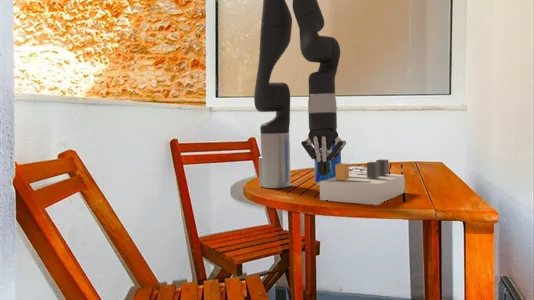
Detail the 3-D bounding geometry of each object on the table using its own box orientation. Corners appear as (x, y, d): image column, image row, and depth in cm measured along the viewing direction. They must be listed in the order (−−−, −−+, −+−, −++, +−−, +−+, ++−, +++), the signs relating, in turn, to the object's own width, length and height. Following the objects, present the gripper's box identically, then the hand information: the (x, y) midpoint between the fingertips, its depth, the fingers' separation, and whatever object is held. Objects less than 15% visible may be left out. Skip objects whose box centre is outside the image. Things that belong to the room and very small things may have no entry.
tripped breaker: (335, 179, 120) (335, 164, 120) (340, 178, 122) (340, 163, 122) (344, 180, 118) (343, 164, 118) (348, 178, 121) (348, 163, 121)
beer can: (340, 187, 141) (339, 135, 140) (313, 187, 143) (312, 136, 142) (342, 183, 149) (341, 134, 148) (316, 183, 151) (315, 135, 150)
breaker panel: (320, 199, 121) (319, 180, 120) (351, 188, 137) (351, 172, 137) (377, 205, 112) (377, 184, 111) (404, 192, 128) (404, 174, 127)
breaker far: (376, 174, 127) (376, 160, 127) (380, 173, 129) (380, 159, 129) (384, 175, 126) (384, 160, 125) (388, 173, 128) (388, 159, 128)
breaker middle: (367, 177, 122) (366, 162, 121) (371, 176, 124) (371, 161, 124) (375, 178, 120) (375, 163, 120) (379, 176, 123) (379, 161, 122)
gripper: (294, 112, 123) (295, 176, 124) (338, 110, 115) (340, 178, 116) (308, 112, 129) (309, 172, 130) (351, 110, 121) (352, 174, 123)
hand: (324, 175), depth 123 cm, fingers closed
